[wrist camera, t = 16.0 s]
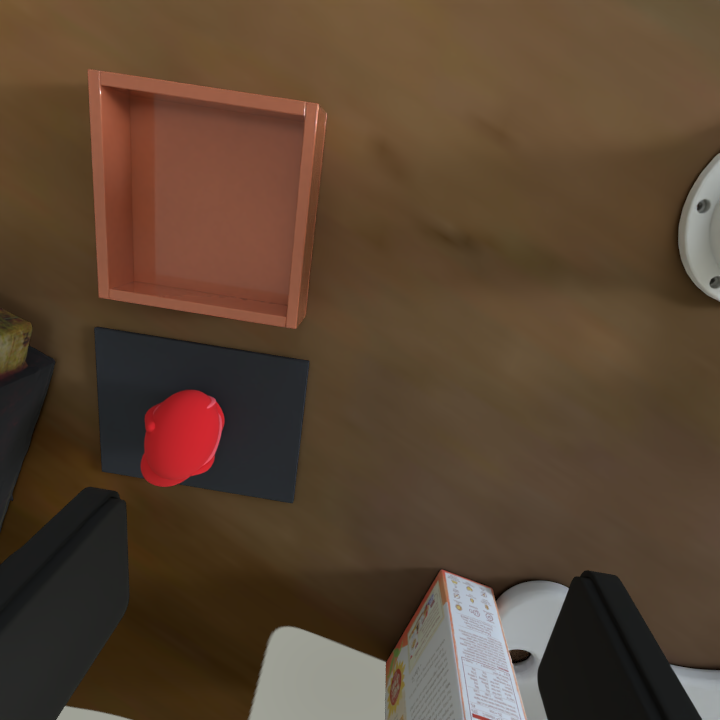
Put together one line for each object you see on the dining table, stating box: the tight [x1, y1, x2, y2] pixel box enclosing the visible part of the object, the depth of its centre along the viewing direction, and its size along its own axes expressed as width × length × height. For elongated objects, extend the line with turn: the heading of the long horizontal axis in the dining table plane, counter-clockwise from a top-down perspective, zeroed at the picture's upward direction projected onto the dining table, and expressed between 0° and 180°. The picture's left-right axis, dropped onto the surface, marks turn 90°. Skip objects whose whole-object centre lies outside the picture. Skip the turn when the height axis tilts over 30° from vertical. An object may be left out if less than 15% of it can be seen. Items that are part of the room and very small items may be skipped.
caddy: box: [88, 69, 327, 329], centre depth 33 cm, size 15×15×4 cm
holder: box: [496, 581, 720, 720], centre depth 45 cm, size 19×34×5 cm, turn 69°
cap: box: [141, 390, 224, 487], centre depth 38 cm, size 8×6×6 cm
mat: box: [94, 327, 309, 503], centre depth 41 cm, size 18×14×1 cm
